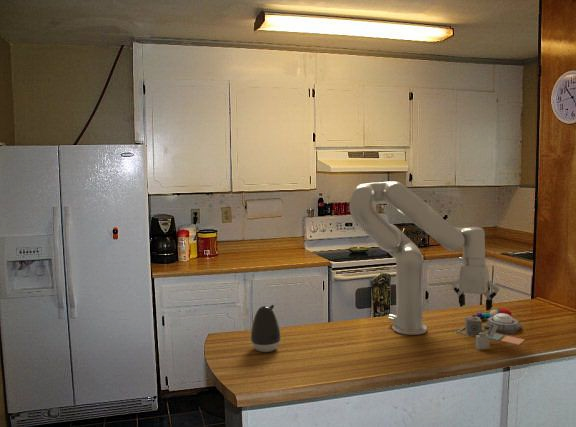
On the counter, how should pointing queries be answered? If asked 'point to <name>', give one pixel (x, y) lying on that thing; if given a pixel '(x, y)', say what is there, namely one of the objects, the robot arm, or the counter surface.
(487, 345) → the lighter
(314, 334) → the counter surface
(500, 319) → the dome
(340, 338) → the counter surface
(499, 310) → the toy figure
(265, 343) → the pump dispenser
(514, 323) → the dome base
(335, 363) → the counter surface
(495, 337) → the sorting mat
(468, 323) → the dice cube
